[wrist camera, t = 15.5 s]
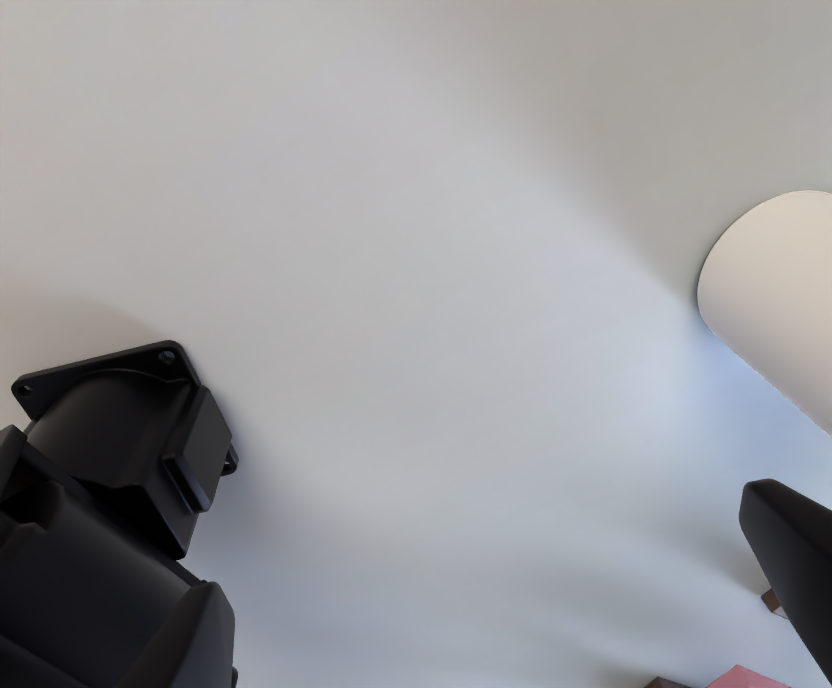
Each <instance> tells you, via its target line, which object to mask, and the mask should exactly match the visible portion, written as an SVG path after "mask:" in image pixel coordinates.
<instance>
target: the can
mask: <svg viewBox="0 0 832 688" xmlns="http://www.w3.org/2000/svg"><path fill="white" fill-rule="evenodd" d="M697 300H698V307H699V311H700V314H701V317H702V319H703V321H704V323H705V324H706V326H707V327H708V328H709V329H710V330H711V331H712V333H713V334H715V335H716V336H717V337H718V338H719V339H720V340H721V341H722V342H723V343H724V344H725V345H727V346H728V347H729V348H730V349H731V350H732V351H733V352H734V353H735V354H737V355H738V356H739V357H740V358H741V359H742V360H743V361H745V362H746V363H747V364H748V365H749V366H750V367H751V368H752V369H754V370H755V371H756V372H757V373H758V374H759V375H760V376H762V377H763V378H764V379H765V380H766V381H767V382H768V383H770V384H771V385H772V386H773V387H774V388H775V389H776V390H778V391H779V392H780V393H781V394H782V395H783V396H784V397H786V398H787V399H788V400H789V401H790V402H791V403H792V404H794V405H795V406H796V407H797V408H798V409H799V410H800V411H802V412H803V413H804V414H805V415H806V416H807V417H809V418H810V419H811V420H812V421H813V422H814V423H815V424H817V425H818V426H819V427H820V428H821V429H822V430H823V431H825V432H826V433H827V434H828V435H829V436H830V437H831V438H832V194H830V193H826V192H822V191H814V190H805V191H796V192H790V193H786V194H783V195H780V196H777V197H774V198H772V199H769V200H767V201H765V202H763V203H761V204H759V205H758V206H756V207H754V208H753V209H751V210H750V211H748V212H747V213H745V214H744V215H743V216H741V217H740V218H739V219H737V220H736V221H735V222H734V223H733V224H732V225H731V226H730V227H729V228H728V229H727V230H726V231H725V232H724V233H723V234H722V235H721V236H720V238H719V239H718V240H717V242H716V243H715V244H714V246H713V247H712V249H711V251H710V253H709V254H708V256H707V258H706V261H705V263H704V266H703V268H702V271H701V274H700V278H699V283H698V291H697Z"/></svg>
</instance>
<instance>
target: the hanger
mask: <svg viewBox="0 0 832 688" xmlns="http://www.w3.org/2000/svg"><path fill="white" fill-rule="evenodd" d="M706 688H791V687H788V686H786V685H784V684H781V683H779V682H777V681H774V680H772V679H770V678H767V677H765V676H763V675H760V674H758V673H756V672H753V671H751V670H749V669H746V668H744V667H742V666H739V665H736V666H734V667H733V668H732V669H730V670H729V671H727V672H726V673H725V674H723V675H722V676H721V677H719V678H718V679H717V680H715V681H714V682H713V683H711V684H710V685H708V686H707V687H706Z"/></svg>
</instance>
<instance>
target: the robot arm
mask: <svg viewBox="0 0 832 688" xmlns="http://www.w3.org/2000/svg"><path fill="white" fill-rule="evenodd" d="M164 351H169V352H171V353H173V354H174V356H175V357H168V356H166V355H165V354H164ZM24 386H28V387H30V388H31V389H32V390H33V391H30V390H27V389H26V388H25V387H24ZM11 391H12V393H13V395H14V397H15V398H16V399H17V401H18V402H19V403H20V405H21V406H22V408H23V409H24V410H25V412H26V413H27V415H28V416H29V417H30V419H31V420H32V422H31V423H30V424H29V425H28V427H27V428H26V429H25V430H24V432H22V431H20V430H19V429H18V428H17V427H16V426H14V425H13V424H11V425H9V426H8V427H6V428H4V429H3V430H1V431H0V688H236V684H237V679H238V671H237V669H236V668H234V667H233V666H232V663H233V647H234V632H235V616H234V612H233V609H232V607H231V605H230V603H229V602H228V600H227V598H226V596H225V594H224V592H223V591H222V589H221V587H220V585H219V584H218V583H216V582H207V581H206V580H202V581H200V580H199V579H198V578H197V577H195V576H194V575H193V574H192V573H190V572H189V571H188V570H187V569H185V568H184V567H183V566H182V565H180V564H179V563H178V562H177V561H176V560H180V559H182V558H184V557H185V555H186V553H187V550H188V547H189V544H190V540H191V537H192V534H193V531H194V528H195V524H196V521H197V518H198V515H199V513H202V512H207V511H208V510H209V508H210V506H211V505H212V503H213V499H214V496H215V493H216V489H217V486H218V482H219V479H220V477H221V476H225V475H229V474H232V473H234V472H235V471H236V469H237V465H238V461H239V459H238V456H237V454H236V452H235V450H234V448H233V446H232V444H231V442H230V441H231V438H232V434H231V432H230V430H229V428H228V426H227V424H226V422H225V420H224V418H223V416H222V414H221V412H220V410H219V408H218V406H217V404H216V402H215V400H214V398H213V396H212V394H211V392H210V390H209V389H208V388H207V387H205V386H204V385H202V384H201V382H200V380H199V378H198V376H197V374H196V372H195V370H194V368H193V367H192V365H191V363H190V361H189V359H188V357H187V355H186V353H185V351H184V349H183V347H182V346H181V345H180V344H179V343H177V342H175V341H172V340H165V341H161V342H157V343H153V344H148V345H144V346H140V347H136V348H132V349H128V350H124V351H120V352H116V353H111V354H107V355H103V356H99V357H95V358H91V359H87V360H83V361H79V362H74V363H70V364H66V365H62V366H58V367H54V368H50V369H46V370H42V371H37V372H33V373H29V374H25V375H22V376H20V377H19V378H18V379H17V380H16V381H15V382H14V383H13V385H12V386H11ZM225 461H226V462H229V463H230V464H224V462H225ZM739 522H740V526H741V529H742V531H743V533H744V535H745V537H746V539H747V541H748V543H749V545H750V546H751V548H752V550H753V552H754V554H755V556H756V558H757V560H758V562H759V564H760V566H761V568H762V570H763V572H764V574H765V575H766V577H767V579H768V581H769V583H770V585H771V587H772V589H773V591H774V593H775V595H776V597H777V599H778V601H779V603H780V604H781V606H782V608H783V610H784V612H785V613H786V615H787V617H788V619H789V620H790V622H791V624H792V625H793V627H794V628H795V630H796V632H797V633H798V635H799V636H800V638H801V639H802V641H803V642H804V644H805V646H806V647H807V649H808V650H809V652H810V653H811V655H812V656H813V658H814V659H815V661H816V662H817V664H818V665H819V667H820V669H821V670H822V672H823V673H824V675H825V676H826V678H827V679H828V681H829V682H830V684H831V685H832V511H831V510H829V509H828V508H826V507H824V506H822V505H820V504H818V503H817V502H815V501H813V500H811V499H809V498H807V497H806V496H804V495H802V494H800V493H798V492H796V491H795V490H793V489H791V488H789V487H787V486H785V485H784V484H782V483H780V482H778V481H776V480H773V479H762V480H757V481H751V482H748V483H746V485H745V486H744V488H743V494H742V500H741V506H740V512H739Z"/></svg>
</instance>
